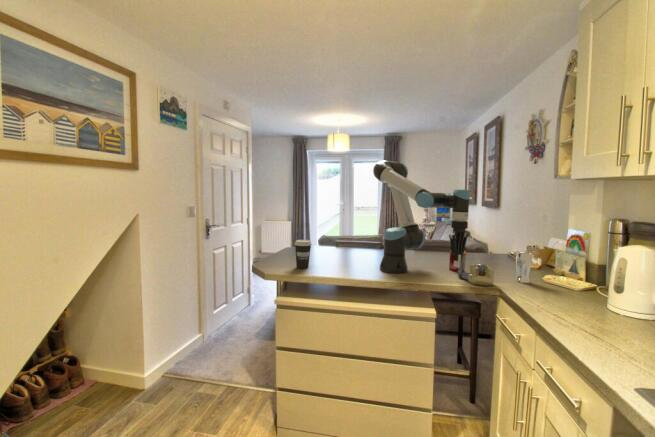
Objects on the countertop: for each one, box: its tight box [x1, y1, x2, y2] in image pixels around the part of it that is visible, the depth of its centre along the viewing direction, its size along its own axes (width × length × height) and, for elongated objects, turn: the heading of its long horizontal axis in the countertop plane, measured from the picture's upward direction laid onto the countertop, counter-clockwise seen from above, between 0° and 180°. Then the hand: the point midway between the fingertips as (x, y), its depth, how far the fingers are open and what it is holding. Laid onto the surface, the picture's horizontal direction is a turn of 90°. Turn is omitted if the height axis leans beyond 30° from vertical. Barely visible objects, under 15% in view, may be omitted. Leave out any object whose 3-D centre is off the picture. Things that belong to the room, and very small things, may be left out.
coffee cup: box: [294, 239, 312, 270], centre depth 180 cm, size 10×10×15 cm
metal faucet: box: [457, 250, 495, 287], centre depth 161 cm, size 18×11×14 cm, turn 30°
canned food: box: [448, 250, 459, 272], centre depth 185 cm, size 8×8×11 cm
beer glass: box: [515, 250, 533, 284], centre depth 164 cm, size 7×7×15 cm
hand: (456, 267), depth 164 cm, fingers closed
